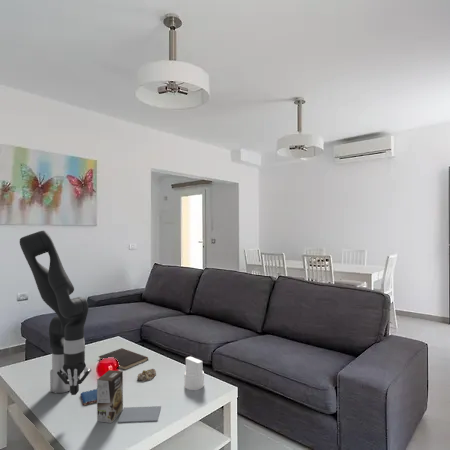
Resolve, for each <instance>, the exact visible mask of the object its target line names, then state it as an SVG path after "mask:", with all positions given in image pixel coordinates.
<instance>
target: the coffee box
mask: <svg viewBox="0 0 450 450" xmlns="http://www.w3.org/2000/svg"><path fill="white" fill-rule="evenodd" d="M123 375H124V372H123V370H111V369H109V370H107V371H106V372H105V373H104V374H102V375H101V376H100V377H99V378H97V379H96V380H97V381H96V382H97V383H96V389H97V403H96V421H97V422H100V423H109V424H111V423H113V422H114V421H115V420H116V419H117V418H118V416H119V415H121V413H122V411H123V409H124V385H123V384H124V379H123V377H124V376H123Z"/></svg>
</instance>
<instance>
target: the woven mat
mask: <svg viewBox="0 0 450 450" xmlns="http://www.w3.org/2000/svg"><path fill="white" fill-rule="evenodd" d="M79 396H80V397H81V402H82V405H83V406H87V405H92V404H95V403H96V404H97V388H94V389H92V390H86V391H82V392H80V395H79Z"/></svg>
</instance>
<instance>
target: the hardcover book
mask: <svg viewBox="0 0 450 450" xmlns="http://www.w3.org/2000/svg"><path fill="white" fill-rule="evenodd" d="M108 357H114V358H116V359H117V360H118V362H119V365H120V367H119V368H120V369H122V370H127V369H129V368H132V367H134V366H137V365H139V364H141V363H143V362H147V361H148V360H149V357H148V356H146V355H143V354H140V353H138V352H137V353H136V352H135V351H131V350H129V349H125V348H118V349H116V350H112V351H109V352H108V353H104V354H101V355H99V356H98V358H99V360H100V359H103V358H108Z"/></svg>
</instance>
